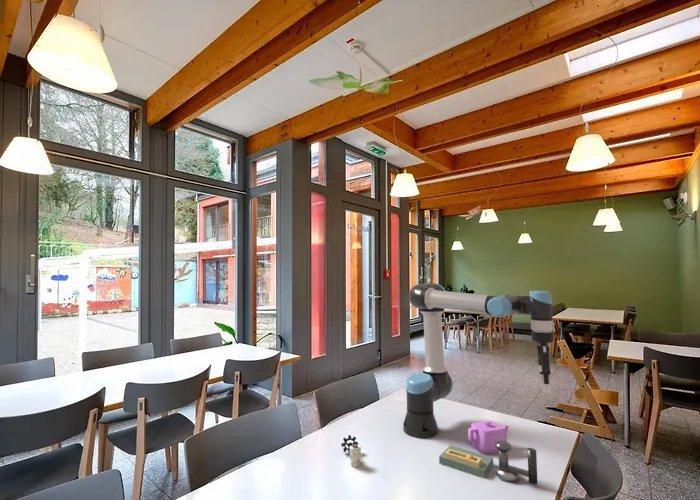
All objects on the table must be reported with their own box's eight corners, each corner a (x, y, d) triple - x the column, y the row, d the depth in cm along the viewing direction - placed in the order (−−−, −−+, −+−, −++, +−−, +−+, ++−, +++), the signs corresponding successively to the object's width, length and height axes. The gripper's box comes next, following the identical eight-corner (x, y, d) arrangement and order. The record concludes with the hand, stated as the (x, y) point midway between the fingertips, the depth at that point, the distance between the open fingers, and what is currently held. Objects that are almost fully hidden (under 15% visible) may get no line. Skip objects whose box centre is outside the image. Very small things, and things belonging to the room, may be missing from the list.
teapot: (500, 439, 149) (499, 414, 150) (517, 451, 139) (516, 424, 140) (461, 444, 145) (461, 418, 146) (477, 457, 135) (476, 429, 136)
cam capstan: (493, 477, 120) (492, 444, 121) (499, 468, 126) (498, 436, 127) (535, 490, 113) (534, 455, 114) (539, 480, 118) (538, 447, 119)
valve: (366, 467, 128) (357, 451, 140) (365, 448, 128) (357, 434, 140) (348, 469, 126) (341, 453, 138) (348, 450, 127) (341, 435, 139)
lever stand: (439, 463, 130) (439, 448, 130) (450, 451, 139) (450, 438, 139) (484, 478, 120) (483, 462, 121) (493, 464, 129) (492, 449, 130)
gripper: (557, 336, 125) (560, 398, 123) (549, 327, 148) (552, 379, 146) (533, 335, 128) (536, 395, 126) (529, 326, 151) (531, 377, 149)
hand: (544, 387), depth 136 cm, fingers open, 13 cm apart
